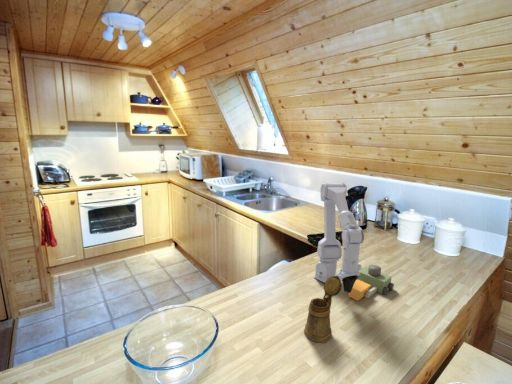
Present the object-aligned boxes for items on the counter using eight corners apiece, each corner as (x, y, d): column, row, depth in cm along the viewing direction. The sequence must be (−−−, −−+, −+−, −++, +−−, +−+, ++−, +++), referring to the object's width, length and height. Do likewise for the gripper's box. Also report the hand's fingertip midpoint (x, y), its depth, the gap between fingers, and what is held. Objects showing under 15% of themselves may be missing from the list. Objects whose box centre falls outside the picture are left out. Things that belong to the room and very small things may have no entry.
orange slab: (359, 301, 114) (360, 291, 113) (346, 295, 119) (347, 285, 118) (369, 294, 120) (370, 285, 119) (356, 288, 124) (357, 279, 123)
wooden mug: (345, 329, 99) (349, 280, 95) (319, 347, 91) (323, 295, 87) (323, 316, 106) (327, 270, 102) (298, 331, 97) (301, 282, 93)
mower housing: (376, 302, 115) (378, 282, 113) (343, 287, 125) (345, 269, 123) (393, 288, 125) (395, 270, 123) (362, 276, 135) (364, 259, 133)
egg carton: (302, 240, 178) (303, 235, 177) (338, 233, 193) (339, 227, 192) (322, 251, 163) (322, 245, 162) (359, 242, 178) (360, 236, 177)
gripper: (349, 268, 102) (346, 303, 104) (370, 257, 111) (366, 289, 114) (332, 261, 107) (329, 294, 110) (353, 251, 116) (350, 282, 119)
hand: (347, 291), depth 112 cm, fingers closed
